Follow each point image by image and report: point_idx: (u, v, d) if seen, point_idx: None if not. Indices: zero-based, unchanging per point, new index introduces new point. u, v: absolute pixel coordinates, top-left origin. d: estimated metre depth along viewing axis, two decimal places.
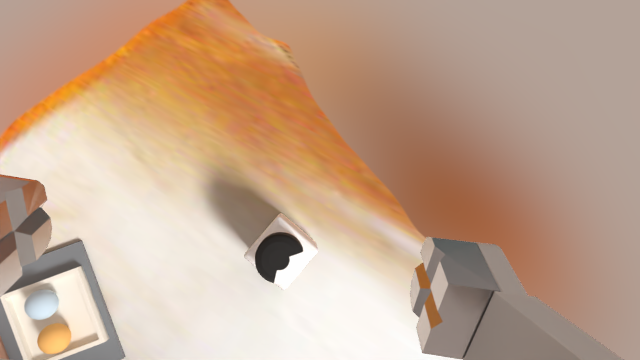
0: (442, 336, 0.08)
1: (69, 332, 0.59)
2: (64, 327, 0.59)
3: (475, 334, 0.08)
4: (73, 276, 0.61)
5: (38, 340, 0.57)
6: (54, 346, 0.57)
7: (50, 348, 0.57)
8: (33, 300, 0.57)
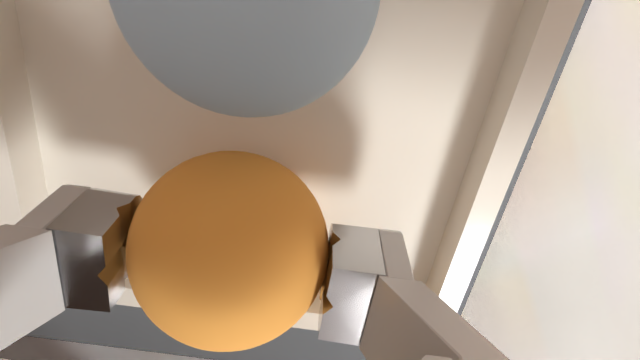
0: (334, 322, 0.08)
1: None
2: (322, 221, 0.08)
3: (366, 320, 0.08)
4: None
5: (149, 257, 0.07)
6: (246, 345, 0.08)
7: (217, 347, 0.08)
8: None
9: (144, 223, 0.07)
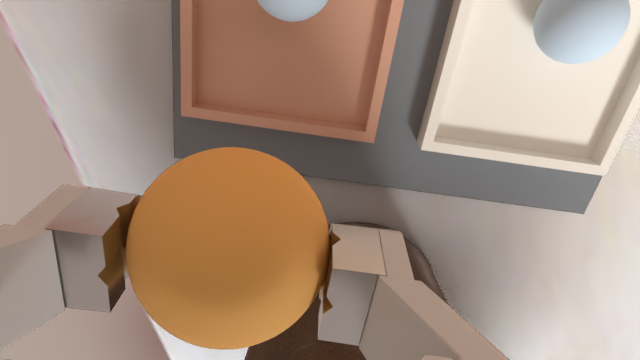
0: (334, 322, 0.08)
1: None
2: (323, 218, 0.08)
3: (366, 320, 0.08)
4: None
5: (149, 253, 0.07)
6: (248, 342, 0.08)
7: (218, 345, 0.08)
8: (613, 3, 0.19)
9: (144, 219, 0.07)
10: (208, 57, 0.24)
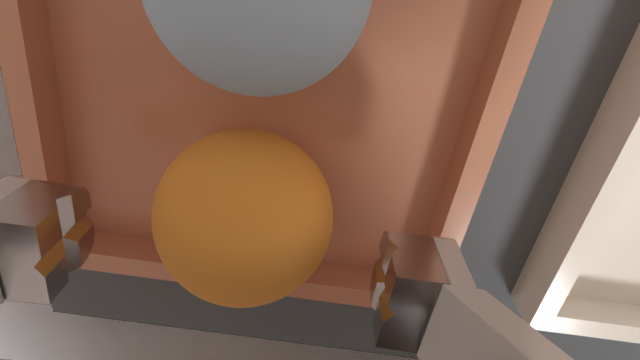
0: (394, 330, 0.08)
1: None
2: (327, 190, 0.09)
3: (426, 328, 0.08)
4: None
5: (177, 220, 0.08)
6: (263, 299, 0.09)
7: (237, 302, 0.09)
8: None
9: (171, 191, 0.08)
10: (91, 147, 0.11)
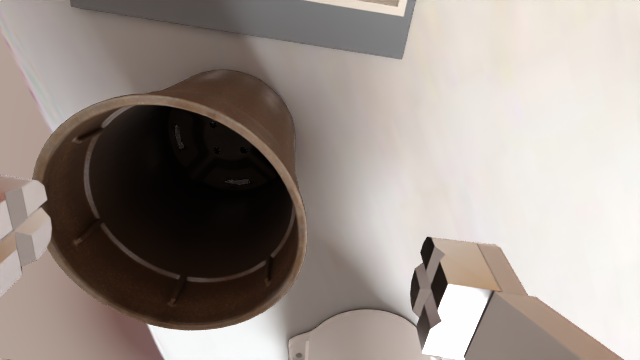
0: (442, 336, 0.08)
1: None
2: None
3: (475, 334, 0.08)
4: None
5: None
6: None
7: None
8: None
9: None
10: None
